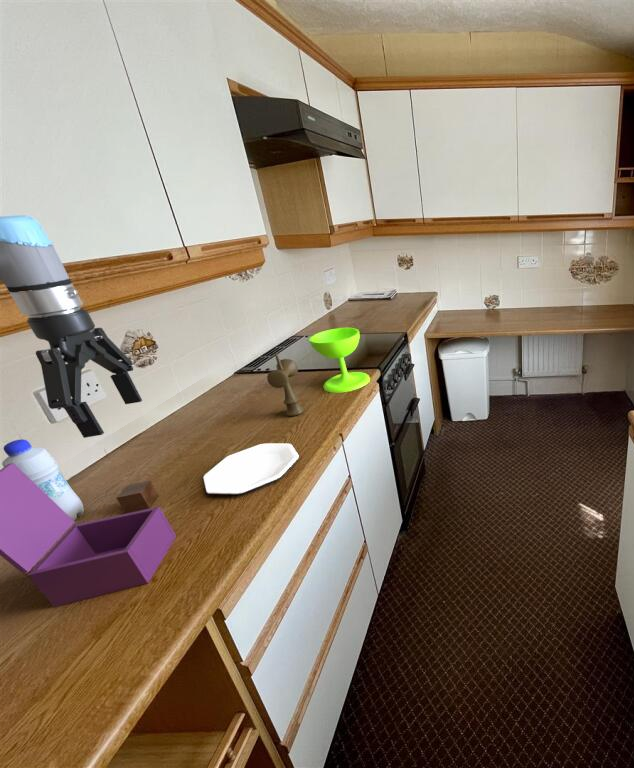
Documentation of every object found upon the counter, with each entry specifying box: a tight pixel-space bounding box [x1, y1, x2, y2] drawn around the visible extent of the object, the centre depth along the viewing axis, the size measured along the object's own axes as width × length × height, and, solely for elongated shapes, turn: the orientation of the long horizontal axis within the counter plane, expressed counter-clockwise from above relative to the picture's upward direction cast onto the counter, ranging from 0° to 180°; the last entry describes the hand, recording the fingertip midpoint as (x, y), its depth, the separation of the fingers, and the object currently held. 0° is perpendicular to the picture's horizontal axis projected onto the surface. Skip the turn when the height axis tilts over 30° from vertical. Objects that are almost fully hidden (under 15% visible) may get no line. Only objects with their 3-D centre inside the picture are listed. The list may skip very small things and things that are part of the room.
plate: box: [202, 442, 300, 496], centre depth 100 cm, size 20×20×2 cm
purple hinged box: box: [27, 506, 177, 608], centre depth 73 cm, size 14×12×8 cm
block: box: [116, 480, 160, 514], centre depth 90 cm, size 4×4×4 cm
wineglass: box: [308, 327, 371, 394], centre depth 141 cm, size 16×16×18 cm
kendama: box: [266, 353, 305, 417], centre depth 122 cm, size 6×10×20 cm, turn 10°
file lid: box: [0, 463, 76, 574], centre depth 67 cm, size 14×12×1 cm
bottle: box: [1, 438, 85, 521], centre depth 84 cm, size 7×7×20 cm
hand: (115, 417), depth 80 cm, fingers open, 13 cm apart
